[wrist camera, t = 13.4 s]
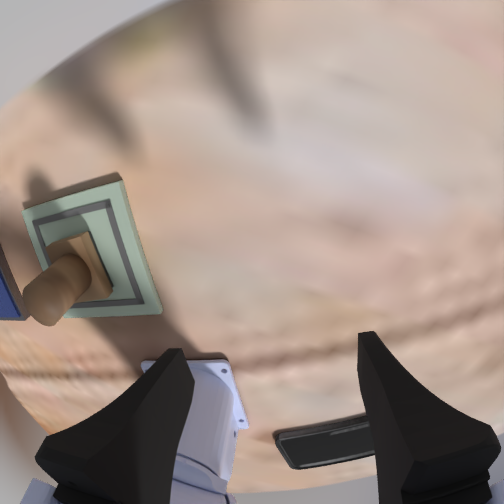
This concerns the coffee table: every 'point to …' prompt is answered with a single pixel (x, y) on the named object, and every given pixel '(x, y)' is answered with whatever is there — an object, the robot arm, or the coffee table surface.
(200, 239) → the coffee table surface
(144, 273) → the board
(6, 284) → the ink pad
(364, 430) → the phone
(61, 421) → the coffee table surface
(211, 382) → the robot arm
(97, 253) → the stamp
